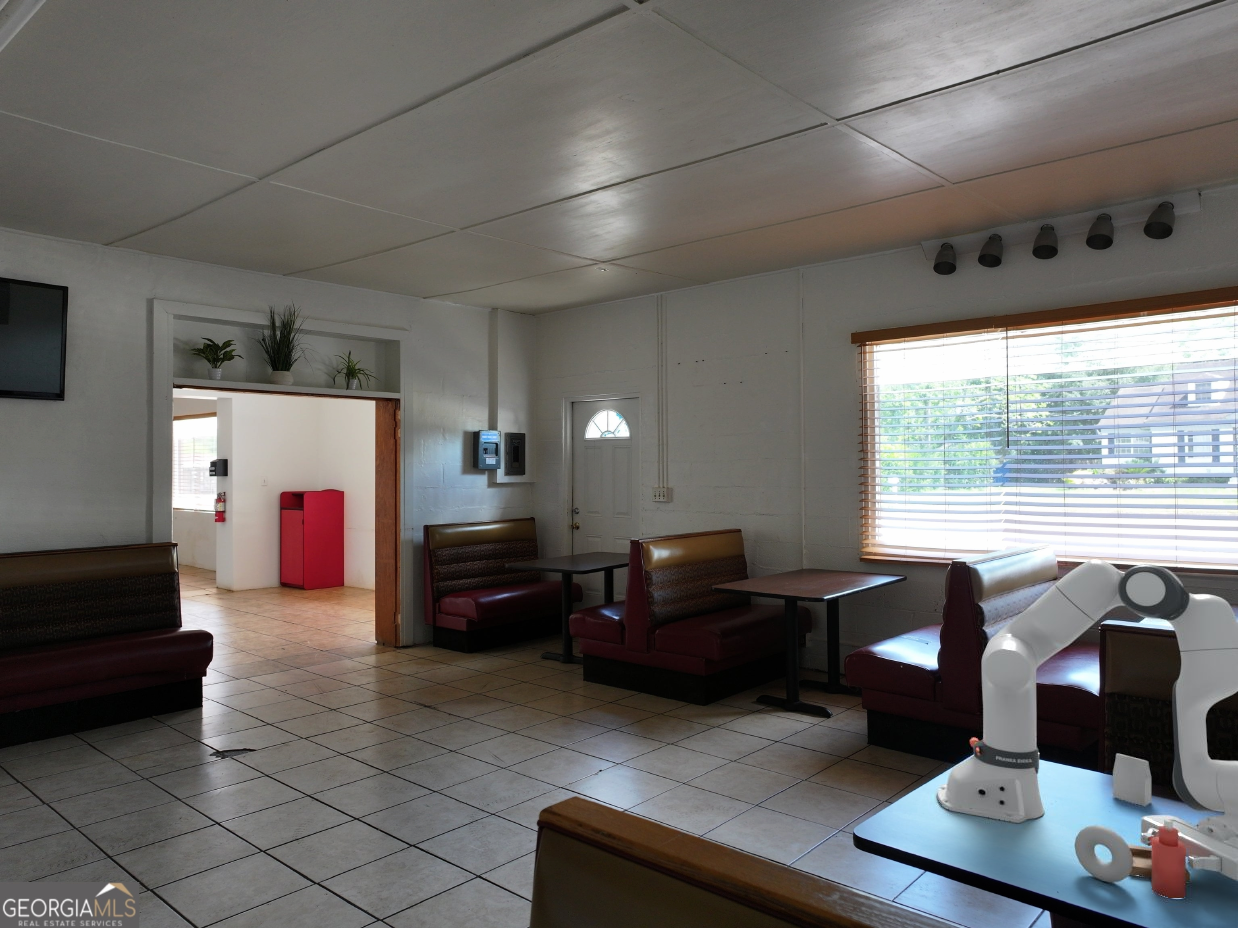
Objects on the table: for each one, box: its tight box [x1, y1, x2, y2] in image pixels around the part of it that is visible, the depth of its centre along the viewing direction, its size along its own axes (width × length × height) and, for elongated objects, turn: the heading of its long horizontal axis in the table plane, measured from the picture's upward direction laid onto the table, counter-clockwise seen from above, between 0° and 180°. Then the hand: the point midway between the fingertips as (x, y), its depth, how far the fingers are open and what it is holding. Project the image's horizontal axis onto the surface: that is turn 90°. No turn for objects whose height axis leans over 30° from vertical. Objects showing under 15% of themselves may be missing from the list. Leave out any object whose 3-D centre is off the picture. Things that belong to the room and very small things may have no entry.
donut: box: [1074, 824, 1133, 884], centre depth 156 cm, size 10×4×10 cm, turn 39°
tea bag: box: [1112, 753, 1152, 807], centre depth 194 cm, size 4×7×10 cm, turn 38°
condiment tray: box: [1128, 844, 1191, 884], centre depth 162 cm, size 10×10×2 cm
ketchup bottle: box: [1151, 820, 1187, 899], centre depth 152 cm, size 5×5×13 cm
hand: (1167, 851), depth 152 cm, fingers open, 8 cm apart
